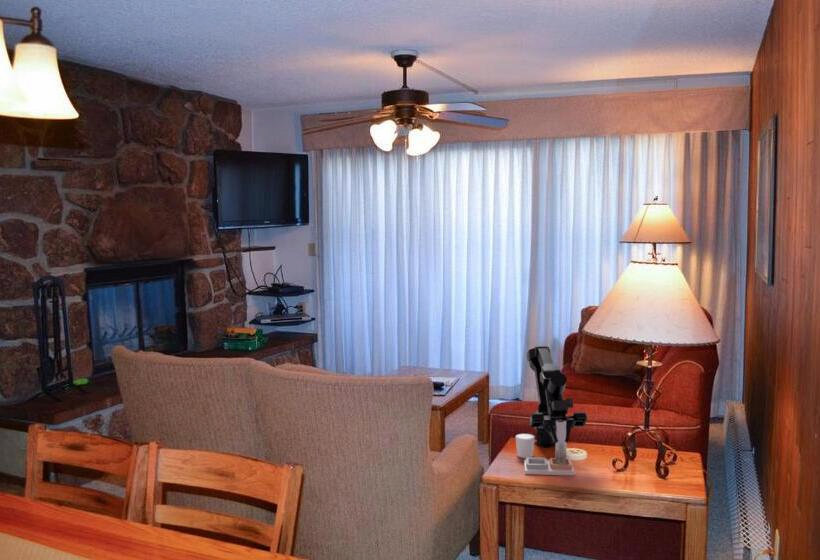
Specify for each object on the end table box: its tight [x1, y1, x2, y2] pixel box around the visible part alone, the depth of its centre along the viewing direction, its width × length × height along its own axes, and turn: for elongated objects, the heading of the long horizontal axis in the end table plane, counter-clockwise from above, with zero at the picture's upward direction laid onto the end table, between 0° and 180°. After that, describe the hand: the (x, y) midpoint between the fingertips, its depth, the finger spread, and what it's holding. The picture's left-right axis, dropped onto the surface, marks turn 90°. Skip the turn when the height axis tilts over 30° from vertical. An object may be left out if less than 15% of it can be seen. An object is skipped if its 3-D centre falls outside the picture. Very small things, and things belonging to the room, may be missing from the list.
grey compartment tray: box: [523, 457, 575, 476], centre depth 249 cm, size 10×16×3 cm, turn 83°
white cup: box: [515, 433, 536, 459], centre depth 263 cm, size 7×7×7 cm
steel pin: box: [554, 420, 567, 463], centre depth 247 cm, size 4×4×14 cm
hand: (561, 442), depth 246 cm, fingers closed on steel pin, 4 cm apart
